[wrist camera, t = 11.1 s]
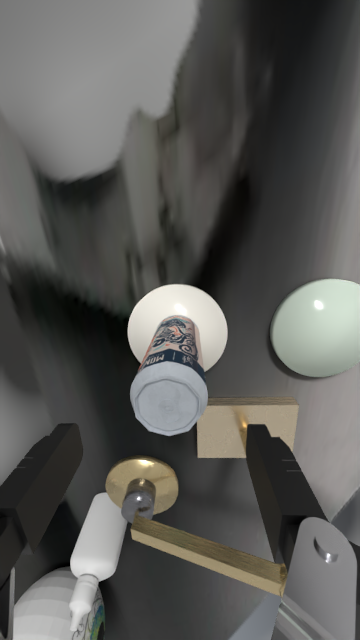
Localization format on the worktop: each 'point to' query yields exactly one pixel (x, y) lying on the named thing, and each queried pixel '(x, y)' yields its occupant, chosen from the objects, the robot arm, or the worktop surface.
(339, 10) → the worktop surface
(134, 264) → the worktop surface
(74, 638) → the decorative object
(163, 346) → the beer can
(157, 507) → the balance
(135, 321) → the glossy white dome
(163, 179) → the worktop surface
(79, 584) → the eye dropper bottle
